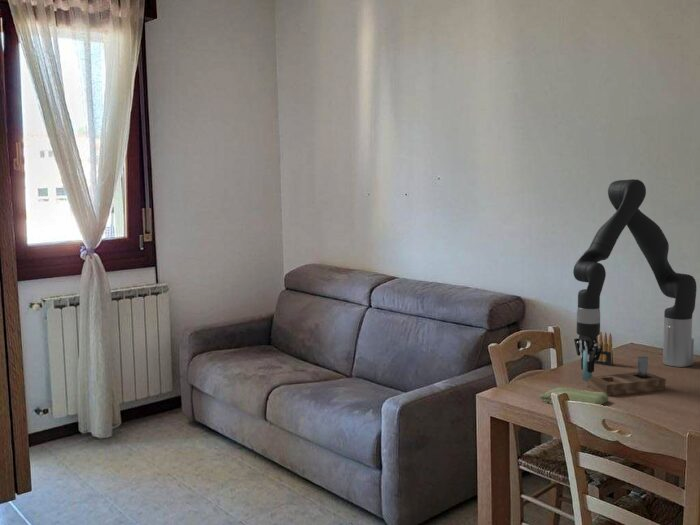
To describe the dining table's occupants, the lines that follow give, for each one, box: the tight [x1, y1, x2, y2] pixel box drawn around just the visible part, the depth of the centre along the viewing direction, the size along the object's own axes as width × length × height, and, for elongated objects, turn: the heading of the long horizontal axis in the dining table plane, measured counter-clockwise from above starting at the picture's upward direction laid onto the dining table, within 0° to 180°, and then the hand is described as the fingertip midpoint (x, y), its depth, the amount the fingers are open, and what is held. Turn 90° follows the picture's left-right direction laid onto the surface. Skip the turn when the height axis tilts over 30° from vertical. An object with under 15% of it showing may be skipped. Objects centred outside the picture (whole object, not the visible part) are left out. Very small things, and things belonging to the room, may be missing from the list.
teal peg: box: [582, 350, 593, 382], centre depth 244 cm, size 3×3×10 cm
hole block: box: [587, 371, 667, 397], centre depth 234 cm, size 22×10×4 cm, turn 105°
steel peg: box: [637, 355, 649, 379], centre depth 235 cm, size 3×3×10 cm
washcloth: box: [539, 387, 609, 405], centre depth 221 cm, size 13×18×3 cm
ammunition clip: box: [594, 331, 614, 367], centre depth 265 cm, size 11×2×12 cm, turn 48°
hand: (587, 370), depth 244 cm, fingers closed on teal peg, 3 cm apart
